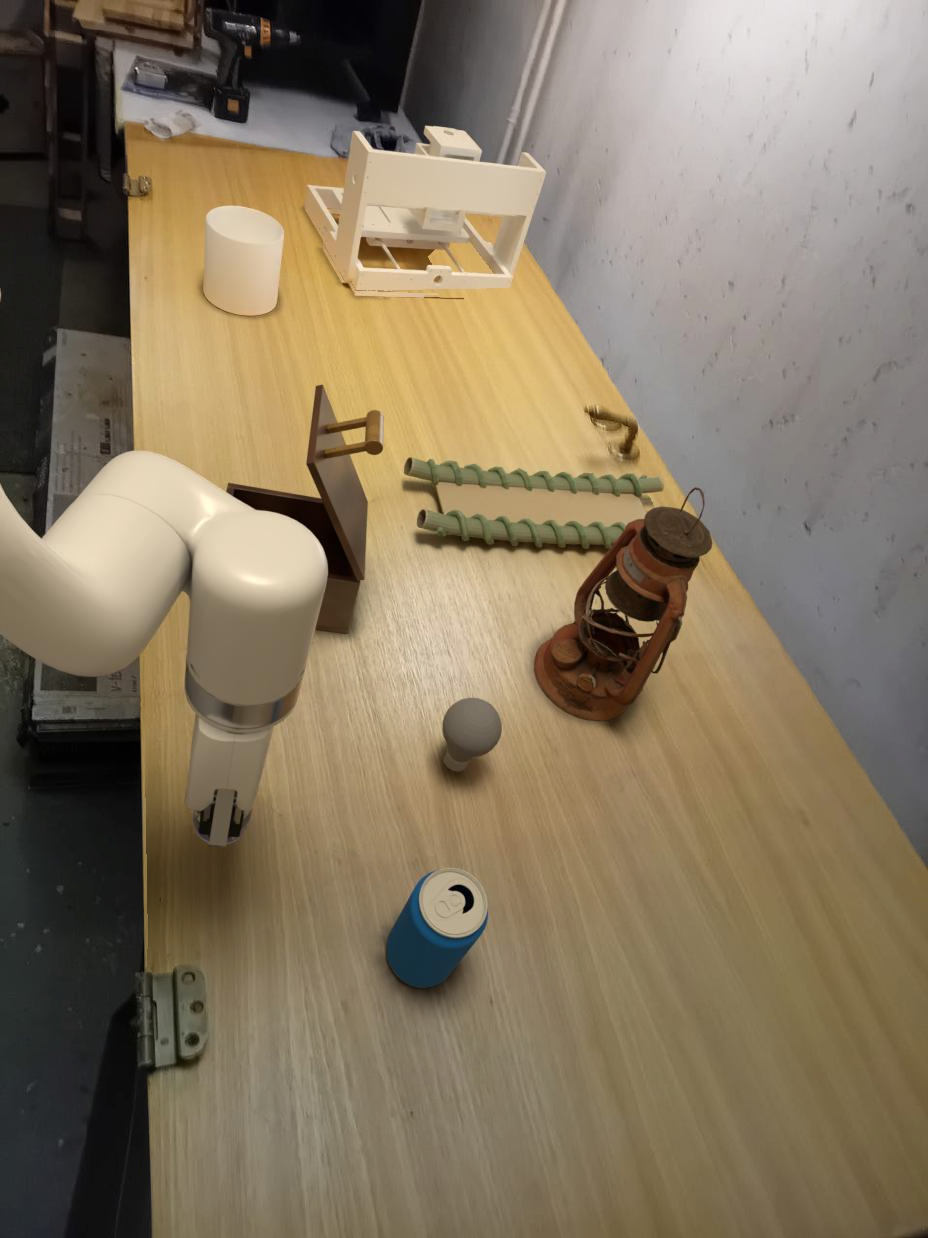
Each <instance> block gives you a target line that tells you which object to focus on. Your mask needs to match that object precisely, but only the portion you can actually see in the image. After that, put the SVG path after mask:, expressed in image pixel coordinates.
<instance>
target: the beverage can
mask: <svg viewBox="0 0 928 1238" xmlns="http://www.w3.org/2000/svg"><path fill="white" fill-rule="evenodd" d="M488 905H489V903H488V897H487V894H486V891H485V889H484V887H483V885H482V883H480V881H479V880H478V879H477V878H476V877H475V876H474V875H473V874H471V873H470V872H468V871H466V870H464V869H461V868H458V867H457V868H456V867H443V868H440V869H436V870H433V871H430V872H429V873H427V874H425V875H424V876H423V877H422V878H420V879H419V881H417V883H416V884H415V886H414V888H413V890H412V891H411V893H410V896H409V897H408V899H407V900H406V902H405V904H404V906H403V908H402V910H401V911H400V913H399V915H398V916H397V919H396V920H395V922H394V924H393V926H392V928H391V929H390V931H389V934H388V936H387V940H386V945H385V946H386V948H385V949H386V958H387V961H388V964H389V966H390V968H391V970H392V971H393V973H394V974H395V975H396V976H397V977H398V978H399V979H400V980H401V981H403V983H405V984H407V985H409V986H412V987H415V988H425V989H426V988H431V987H435V986H437V985H439V984H442V983H443V982H444V981H446V979H448V977H449V976H450V975H451V974H452V973H453V972H454V970H455V969H456V968H457V966H458V965H459V964H460V962H461V961H462V960H463V959H464V958H465V956H466V955H467V953H468V952H469V951H470V950H471V948H472V947H473V946H474V945H475V943H476V942H477V941H478V939H479V938H481V936H482V934H483V933H484V931H485V929H486V927H487V924H488V919H489V906H488Z"/></svg>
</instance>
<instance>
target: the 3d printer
mask: <svg viewBox="0 0 928 1238" xmlns="http://www.w3.org/2000/svg"><path fill="white" fill-rule="evenodd" d="M423 135H424V136H425V137H426V139H427V140H428V141H429V143H423V142H416V143H415V147H414V152H413V153H409V152H400V151H391V150H382V149H374V148H373V147H372V146H371V144H370V143H369V142H368V140H367V139H366V138H365V137H366V136H364V135H363V133H362V132H361V131H359V130H352V133H351V139H350V146H349V153H348V157H347V165H346V172H345V178H344V185H343V187H336V186H325V185H312V184H306V193H305V199H304V207H303V208H304V211H305V213H306V214H307V216H308V218H309V219H310V221H311V223H312V225H313V226H314V228H315V230H316V231H317V233H318V235H319V236H320V238H321V240H322V242H323V243H322V252H323V253H324V255H325V257H326V258H327V260H328V262H329V263H330V266H331V267H332V269H333V271H334V272H335V274H336V276H337V278H338V279H339V281H340V283H341V284H348V286H349V288H350V289H351V292H352V293H353V294H354V296H355V297H379V298H380V297H381V298H384V297H386V298H413V299H415V298H417V299H418V298H419V299H420V298H421V299H425V298H424V296H425V295H439V294H438V293H408V292H378V291H377V290H384V291H388V290H390V291H392V290H394V291H395V290H422V289H482V288H483V289H486V288H509V287H510V288H511V285H512V283H513V279H514V274H515V271H516V268H517V265H518V262H519V259H520V255H521V252H522V249H523V246H524V243H525V241H526V237H527V234H528V230H529V228H530V225H531V222H532V218H533V216H534V212H535V209H536V206H537V204H538V203H537V202H538V200H539V197H540V194H541V191H542V188H543V185H544V181H545V178H546V176H547V171H546V170H545V169H544V168H543V167H542V166H541V165H540V163H538V161H537V160H535V158H534V157H533V156H532V155H531V154H530V153H529V152H525V151H522V152H521V153H520V157H519V160H518V163H517V165H510V164H503V163H494V162H486V161H481V157H482V153H483V149H482V148H480V146H478V144H477V143H476V142H475V141H474V140H473V138H472V137H471V136H470V135H469V134H468V133H467V132H466V131H465V130H460V129H457V128H452V127H445V126H437V125H433V126H432V125H424V130H423ZM327 208H333V209H327ZM335 208H336V209H335ZM333 215H339V218H338V223H337V222H336V220H335V218H334V217H333ZM466 215H479V216H489V217H490V216H491V217H501V220H500V224H499V226H498V231H497V233H496V237H495V240H494V243H491V242H490V241H486V240H484V239H483V237H482V236H481V235H480V234H479V232H478V231H477V230H476V228H475V227H474V226H473V224H471V222H470V221H469V219H467V217H466ZM319 228H320V229H319ZM322 233H323V234H322ZM362 238H365V241H366V242H367V244H368V245H369V246H371V247H382V249H383V250H384V252H385V254H386V255H387V256H388V258H389V260H390V262H392V264H393V266H394V267H395V268H380V267H364V265H363V264H362V262H361V261H360V259H359V258H358V256H359V250H360V245H361V239H362ZM468 241H469V242H470V243H471V244H472V245H473V247H474V248H475V249H476V251H477V252H478V253H479V255H480V256H481V257H482V259H483V260H484V261H485V262H486V264H487V265H488V266H489V268H490V269H491V270H492V272H493V273H494V274H489V273H480V272H466V271H465V270H464V268H463V267H462V266H461V264H460V263H459V261H458V260H457V259H456V257H455V256H454V255H453V253H452V252H451V251H450V249H449V247H450V244H451V243H452V244H458V243H466V244H467V243H468ZM323 244H324V245H325V247H326V249H327V250H328V252H329V254H330V255H331V257H332V259H333V261H334V262H333V261H332V259H331V257H330V256H329V254H328V252H327V250H326V249H325V247H324V245H323ZM388 247H389V248H404V249H405V248H406V249H419V250H420V249H421V250H438V251H445V253H446V254H447V255H448V256H449V258H450V259H451V261H452V262H453V263H454V265H455V266H456V267H457V269H458V270H459V271H453V268H452V267H451V266H450V265H440V264H439V265H438V264H428V265H426V269H425V270H423V269H421V270H420V269H401V267H400V266H399V264H398V263H397V261H396V259H395V258H394V257H393V255H392V254H391V251H390V250H389V248H388ZM334 263H335V264H334ZM335 265H336V266H337V267H338V269H339V271H340V272H341V274H342V276H343V278H344V280H345V281H352V283H351V282H345V281H344V280H343V278H342V276H341V274H340V273H339V271H338V269H337V268H336V266H335ZM437 277H440V278H439V279H438V280H437V281H435V279H436V278H437ZM352 284H353V285H354V286H353V285H352ZM354 287H355V288H354ZM355 289H356V290H367V291H356V290H355ZM368 290H370V291H368ZM371 290H376V291H371ZM443 295H444V294H443Z"/></svg>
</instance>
